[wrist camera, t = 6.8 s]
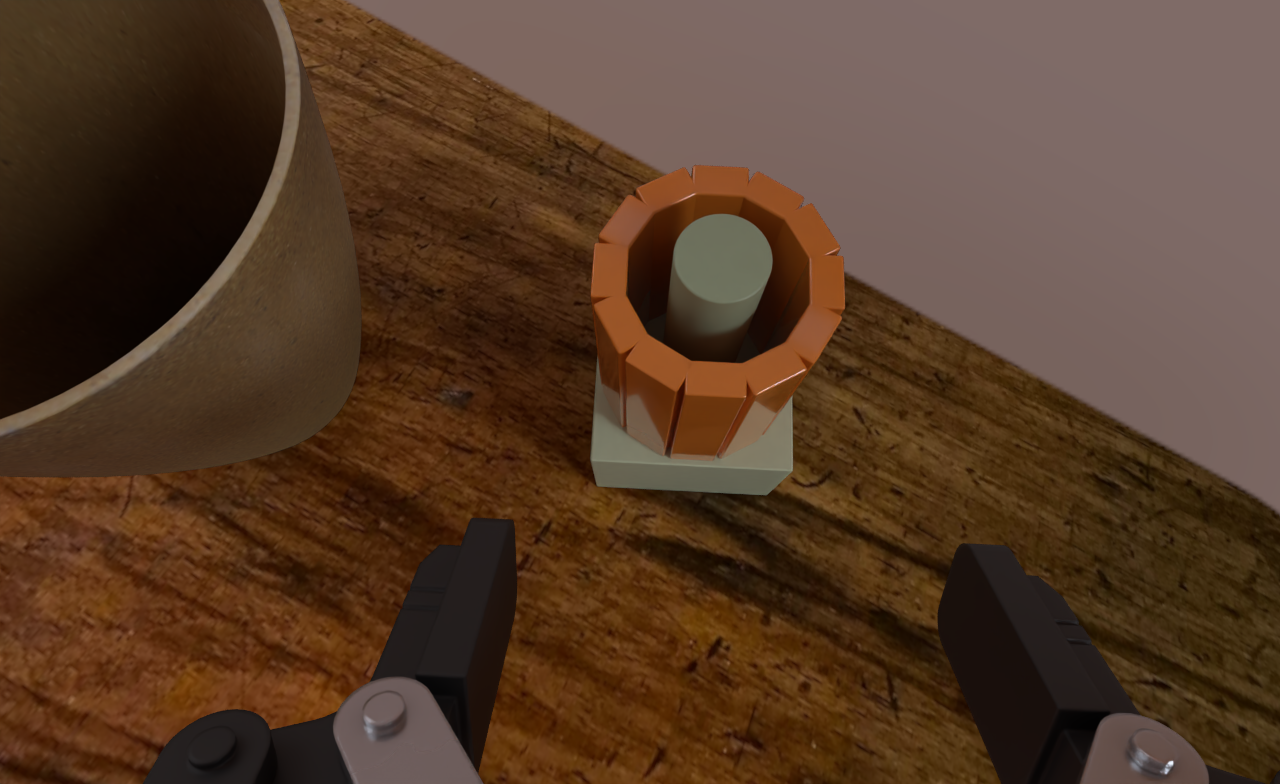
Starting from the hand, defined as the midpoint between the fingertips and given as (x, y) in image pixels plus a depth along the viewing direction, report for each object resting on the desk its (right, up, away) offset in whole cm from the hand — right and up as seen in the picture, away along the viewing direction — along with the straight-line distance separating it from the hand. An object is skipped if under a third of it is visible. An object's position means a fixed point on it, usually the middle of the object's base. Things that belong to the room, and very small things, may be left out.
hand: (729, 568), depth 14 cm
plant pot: (-17, +4, +18) cm, 25 cm away
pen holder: (0, +4, +13) cm, 13 cm away
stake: (0, +3, +17) cm, 18 cm away
